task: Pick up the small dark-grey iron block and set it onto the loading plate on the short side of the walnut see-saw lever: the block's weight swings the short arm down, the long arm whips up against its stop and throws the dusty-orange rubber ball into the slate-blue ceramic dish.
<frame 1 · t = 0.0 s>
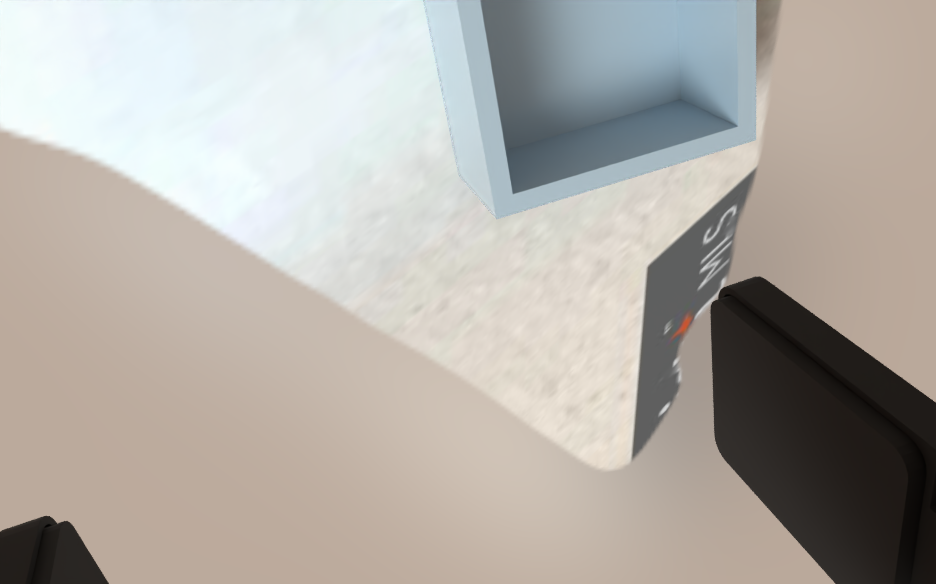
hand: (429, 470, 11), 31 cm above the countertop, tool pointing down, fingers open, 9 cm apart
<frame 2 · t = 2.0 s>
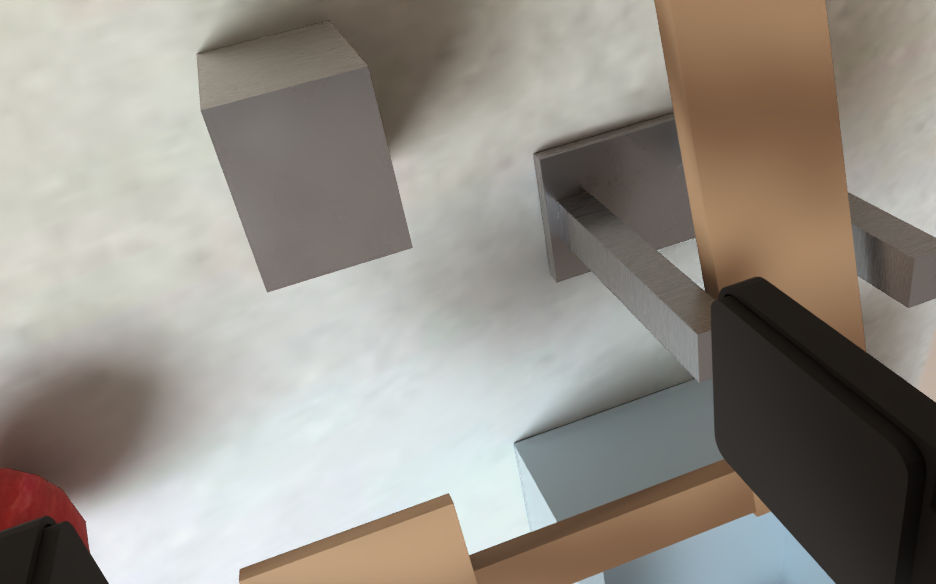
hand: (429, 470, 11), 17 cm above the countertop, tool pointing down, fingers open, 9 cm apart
iron block: (288, 116, 25), on the countertop
onion: (9, 484, 28), on the countertop
dish: (671, 530, 40), on the countertop
fulcrum: (648, 184, 30), on the countertop
lever: (522, 210, 20), point 8 cm above the countertop, hinge at -15.1°, touching ball
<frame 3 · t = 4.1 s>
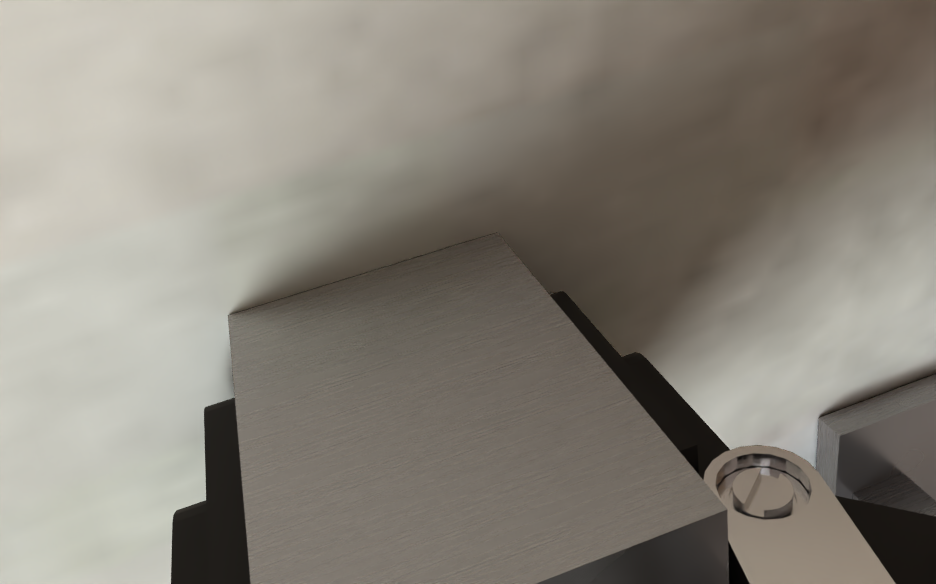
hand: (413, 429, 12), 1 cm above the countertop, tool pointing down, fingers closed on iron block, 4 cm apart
iron block: (404, 407, 13), on the countertop, touching gripper
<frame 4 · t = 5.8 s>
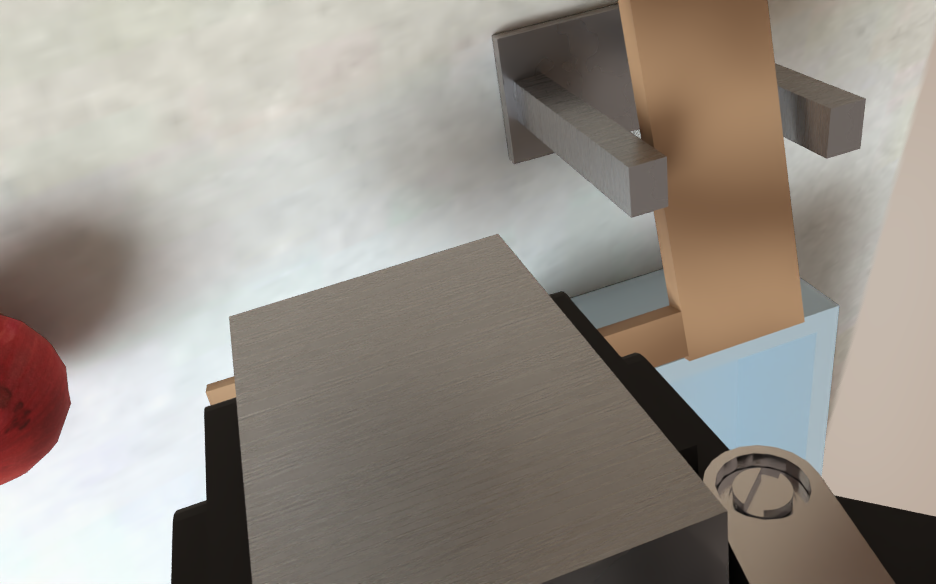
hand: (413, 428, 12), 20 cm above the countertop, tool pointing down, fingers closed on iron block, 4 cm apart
iron block: (405, 408, 13), point 19 cm above the countertop, touching gripper
dish: (627, 427, 42), on the countertop
fulcrum: (601, 73, 32), on the countertop
lever: (468, 45, 22), point 8 cm above the countertop, hinge at -15.1°, touching ball
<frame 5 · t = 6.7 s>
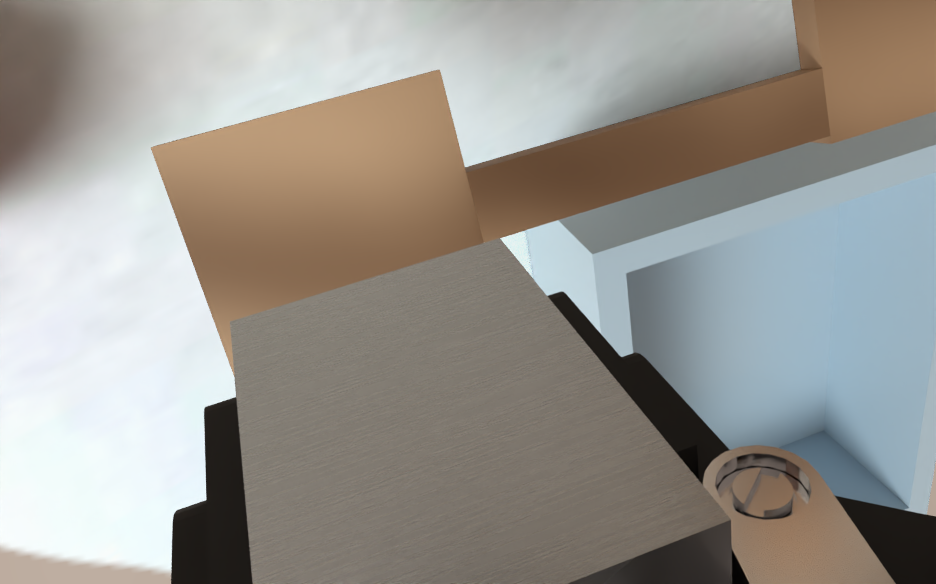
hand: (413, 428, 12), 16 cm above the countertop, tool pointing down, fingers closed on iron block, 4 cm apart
iron block: (406, 412, 13), point 15 cm above the countertop, touching gripper
dish: (699, 325, 35), on the countertop
when the fingers open (11 cm above the countertop, at t = 7.4 s): iron block drops 7 cm and tips over, resting on lever.
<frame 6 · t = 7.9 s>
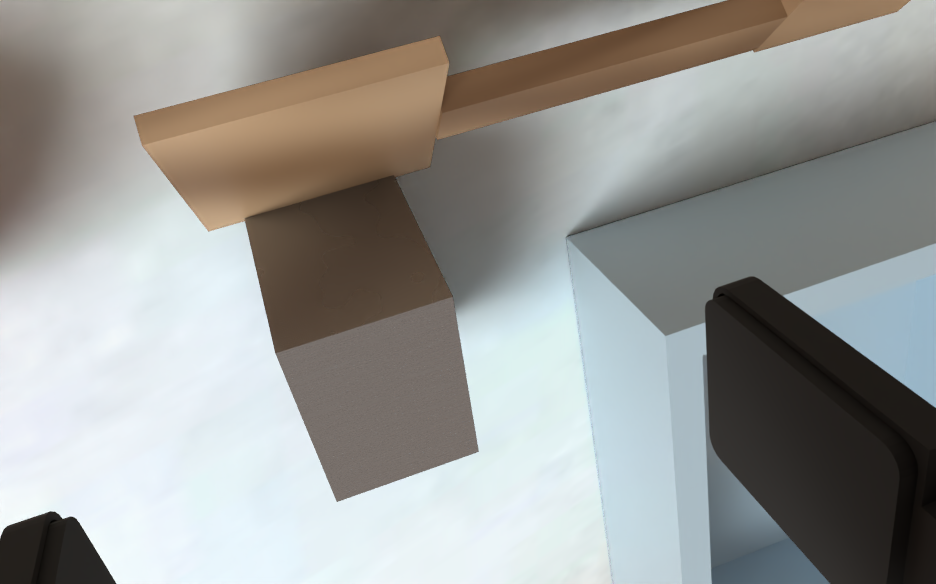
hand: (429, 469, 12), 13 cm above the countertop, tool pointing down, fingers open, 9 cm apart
iron block: (340, 254, 19), point 4 cm above the countertop, tilted 104°, touching lever
dish: (760, 388, 31), on the countertop
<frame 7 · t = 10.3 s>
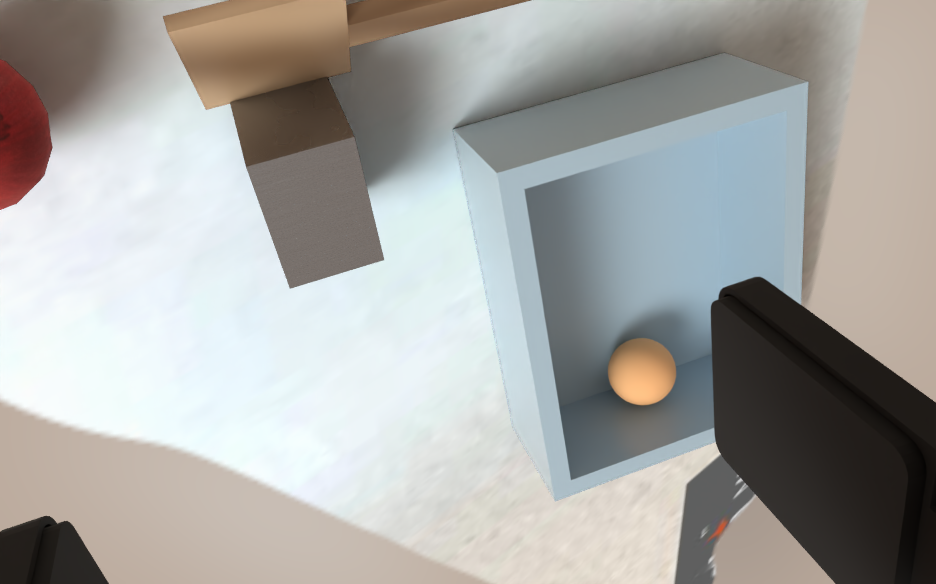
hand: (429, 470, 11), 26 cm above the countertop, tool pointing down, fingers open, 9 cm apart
iron block: (289, 118, 31), point 4 cm above the countertop, tilted 103°, touching lever
dish: (610, 255, 43), on the countertop
ball: (641, 371, 43), point 3 cm above the countertop, tilted 135°, touching dish
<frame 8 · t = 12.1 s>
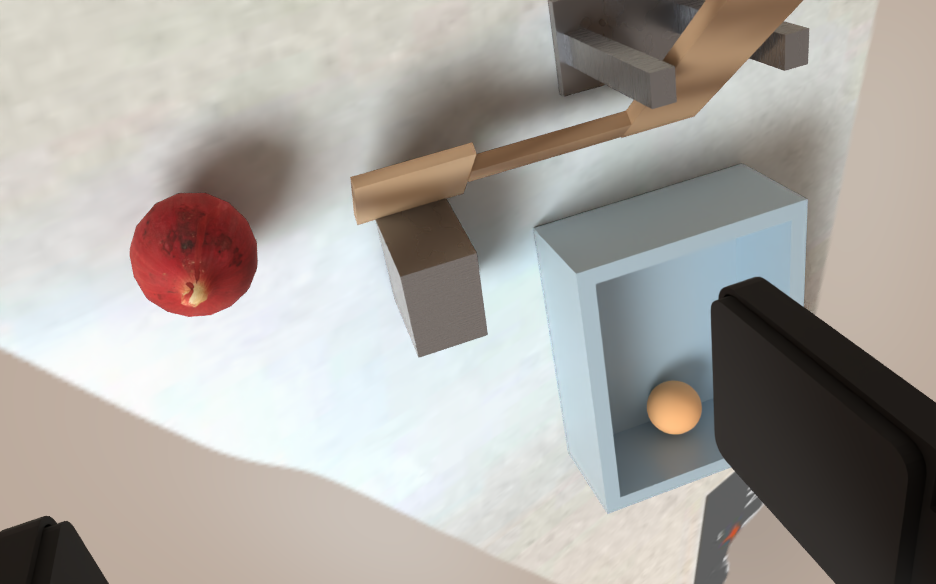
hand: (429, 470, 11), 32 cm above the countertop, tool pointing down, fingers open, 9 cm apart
iron block: (424, 235, 42), point 4 cm above the countertop, tilted 103°, touching lever
onion: (195, 224, 42), on the countertop
dish: (649, 317, 54), on the countertop
fulcrum: (627, 28, 44), on the countertop
ball: (674, 407, 54), point 3 cm above the countertop, tilted 129°, touching dish
lever: (593, 79, 31), point 12 cm above the countertop, hinge at 50.1°, touching iron block
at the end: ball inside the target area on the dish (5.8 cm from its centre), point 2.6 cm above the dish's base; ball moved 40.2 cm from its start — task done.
